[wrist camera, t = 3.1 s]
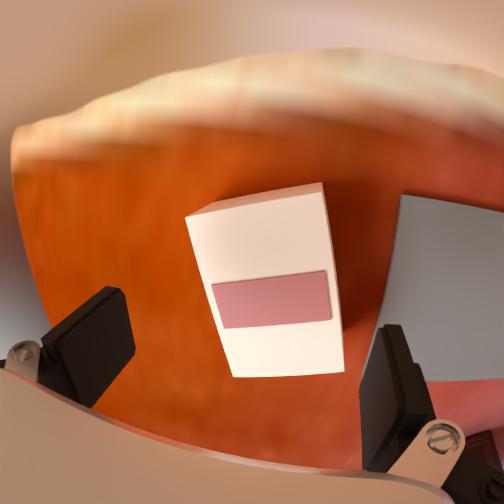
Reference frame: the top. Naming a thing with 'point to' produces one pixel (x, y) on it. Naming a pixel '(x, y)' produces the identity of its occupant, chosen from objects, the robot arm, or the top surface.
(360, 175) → the top surface
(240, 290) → the card box
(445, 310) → the mat
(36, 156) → the top surface
